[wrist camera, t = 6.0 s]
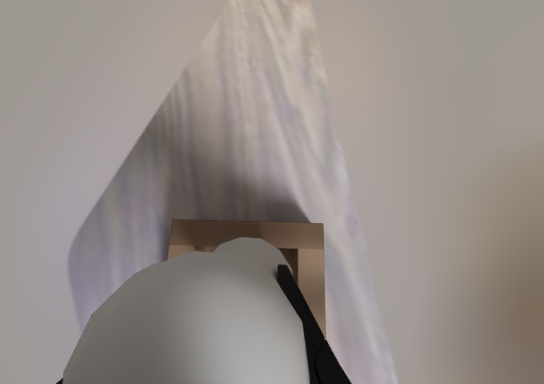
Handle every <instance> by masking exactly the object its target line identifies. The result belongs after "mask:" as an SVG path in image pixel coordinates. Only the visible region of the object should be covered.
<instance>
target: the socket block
mask: <svg viewBox="0 0 544 384" xmlns="http://www.w3.org/2000/svg"><path fill="white" fill-rule="evenodd" d="M240 237H247V238H259V239H263V240H265V241H266V242H268V243H269V244H271V245H272V246H274V247H275V248H277V249H279V250H280V251H281V253H282V255H283V256H284V258H285V259H286V261H287V262H288V264H289V265H290V267H291V268H292V275H293V277H294V279H295V281H296V283H297V285H298V286H299V288H300V290H301V292H302V294H303V296H304V298H305V300H306V302H307V304H308V306H309V308H310V310H311V311H312V313H313V315H314V317H315V319H316V321H317V323H318V325H319V327H320V329H321V331H322V333H323V335H324V336H325V339H326V319H325V275H324V231H323V223H290V222H255V221H219V220H183V219H172V226H171V235H170V243H169V251H168V259H167V260H169V259H172V258H174V257H177V256H180V255H183V254H186V253H189V252H191V251H200V252H211V253H213V252H214V251H215V249H216V248H217V247H218V246H219V245H220V244H222V243H225V242H228V241H231V240H234V239H237V238H240Z"/></svg>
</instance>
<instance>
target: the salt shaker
mask: <svg viewBox="0 0 544 384" xmlns="http://www.w3.org/2000/svg"><path fill="white" fill-rule="evenodd" d="M278 264H286V265H287V266H288V267H289V269H290V271H291V273H292V268H291V267H290V265H289V264H288V262H287V261H286V259H285V258H284V256H283V255H282V253H281V251H280V250H279V249H277V248H275V247H274V246H272V245H271V244H269V243H268V242H266V241H265V240H263V239H259V238H247V237H240V238H237V239H234V240H231V241H228V242H225V243H222V244H220V245H219V246H218V247H217V248H216V249H215V251H214V252H213V253H211V252H200V251H191V252H189V253H186V254H183V255H180V256H177V257H174V258H172V259H169V260H166V261H163V262H160V263H158V264H155V265H152V266H149V267H147V268H145V269H143V270H141V271H139V272H137V273H135V274H134V275H132V276H131V277H130V278H129V279H128V280H127V281H126V282H125V283H124V284H123V285H122V286H121V287H120V288H119V289H118V290H117V291H116V292H115V293H114V294H113V295H112V296H111V297H109V298H108V299H107V300H106V301H105V302H104V303H103V304H102V305H101V306H100V307H99V308H98V309H97V310H96V311H95V312H94V313H93V314H92V315H91V317H90V319H89V321H88V323H87V325H86V327H85V329H84V331H83V333H82V335H81V337H80V339H79V342H78V344H77V346H76V348H75V350H74V352H73V354H72V356H71V358H70V360H69V362H68V364H67V366H66V368H65V370H64V373H63V384H310V377H309V369H308V362H307V354H306V347H305V339H304V332H303V325H302V321H301V319H300V318H299V316H298V315H297V313H296V312H295V310H294V308H293V307H292V305H291V304H290V302H289V300H288V299H287V297H286V296H285V294H284V293H283V291H282V289H281V288H280V286H279V285H278V282H277V265H278Z"/></svg>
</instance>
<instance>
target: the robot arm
mask: <svg viewBox="0 0 544 384" xmlns="http://www.w3.org/2000/svg"><path fill="white" fill-rule="evenodd" d="M277 282H278V285H279V286H280V288H281V289H282V291H283V293H284V294H285V296H286V297H287V299H288V300H289V302H290V304H291V305H292V307H293V308H294V310H295V312H296V313H297V315H298V316H299V318H300V319H301V321H302V325H303V332H304V339H305V347H306V354H307V362H308V369H309V377H310V384H352V383H351V382H350V380H349V379H348V377H347V375H346V374H345V372H344V371H343V369H342V367H341V366H340V364H339V362H338V361H337V359H336V357H335V355H334V353H333V352H332V350H331V348H330V346H329V344H328V342H327V340H326V339H325V336H324V335H323V333H322V331H321V329H320V327H319V325H318V323H317V321H316V319H315V317H314V315H313V313H312V311H311V310H310V308H309V306H308V304H307V302H306V300H305V298H304V296H303V294H302V292H301V290H300V288H299V286H298V285H297V283H296V281H295V279H294V277H293V275H292V273H291V271H290V269H289V267H288V266H287V265H286V264H278V265H277ZM56 384H63V378H62V379H61V380H60V381H59V382H57V383H56Z"/></svg>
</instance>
